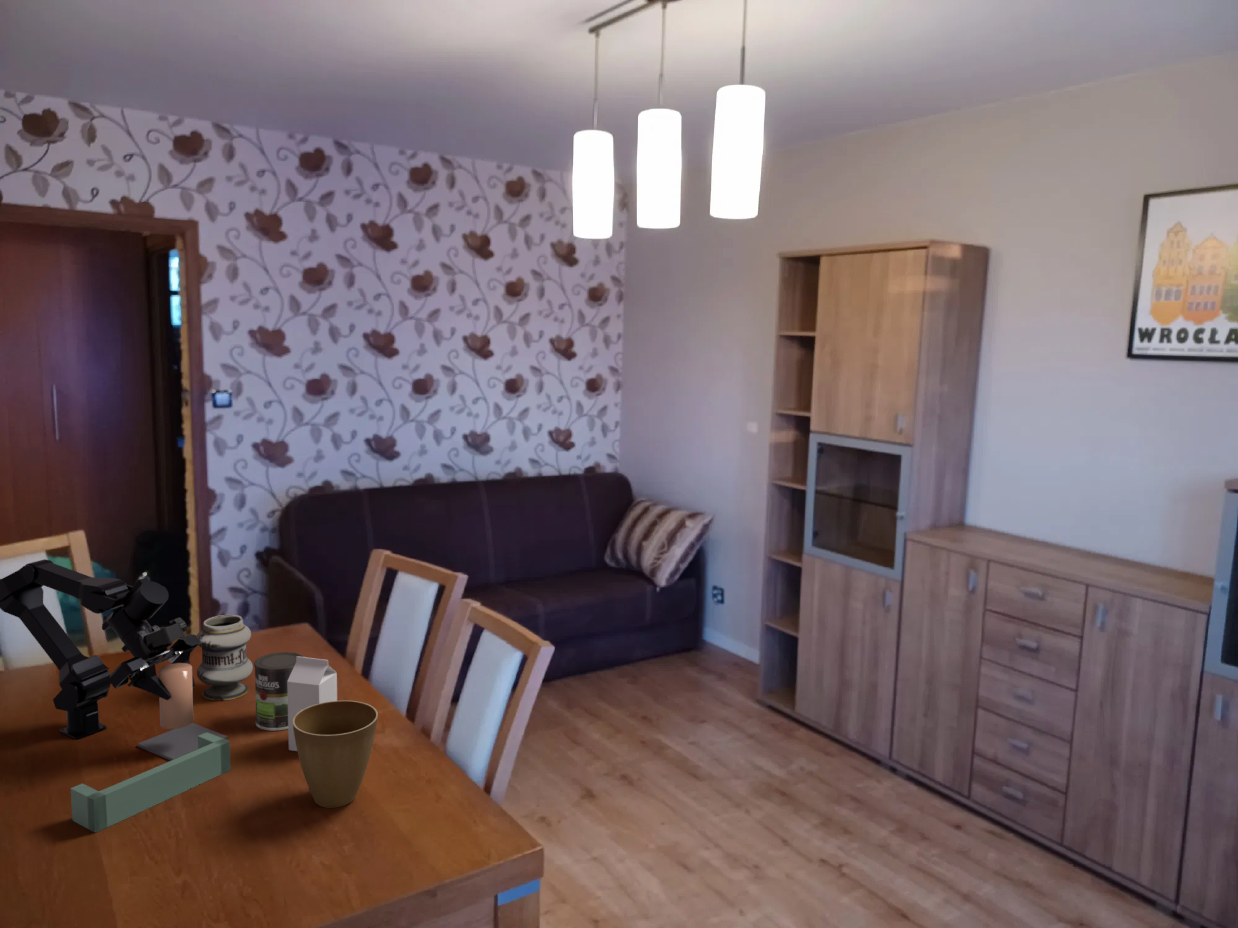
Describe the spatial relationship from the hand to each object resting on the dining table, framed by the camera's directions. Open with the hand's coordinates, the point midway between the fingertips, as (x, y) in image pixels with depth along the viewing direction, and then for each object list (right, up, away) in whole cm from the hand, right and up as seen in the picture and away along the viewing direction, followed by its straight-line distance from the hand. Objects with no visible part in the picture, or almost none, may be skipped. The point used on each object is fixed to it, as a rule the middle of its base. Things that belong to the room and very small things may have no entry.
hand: (181, 692), depth 174 cm
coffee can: (+14, -11, +17) cm, 24 cm away
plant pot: (+36, -16, -14) cm, 42 cm away
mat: (-2, -12, +5) cm, 13 cm away
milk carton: (+25, -13, +6) cm, 28 cm away
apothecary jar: (-5, -8, +31) cm, 32 cm away
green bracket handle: (+3, -15, -15) cm, 21 cm away
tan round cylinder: (-2, -6, +1) cm, 7 cm away
